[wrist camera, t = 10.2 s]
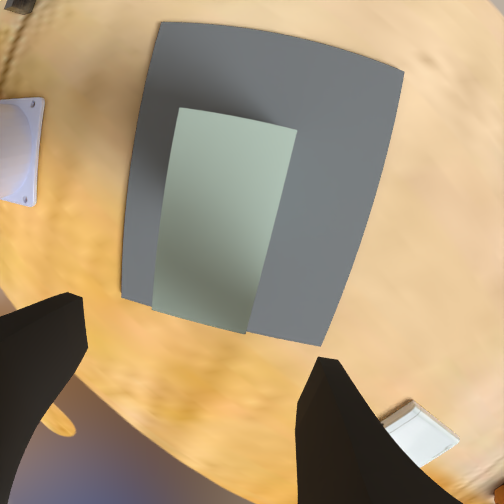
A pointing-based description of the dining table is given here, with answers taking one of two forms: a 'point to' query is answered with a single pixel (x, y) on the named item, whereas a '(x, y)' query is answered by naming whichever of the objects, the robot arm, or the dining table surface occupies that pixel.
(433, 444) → the hard drive
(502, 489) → the coffee package
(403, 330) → the dining table surface
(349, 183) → the slate mat
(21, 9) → the offcut rack
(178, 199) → the tall pastel pillar
